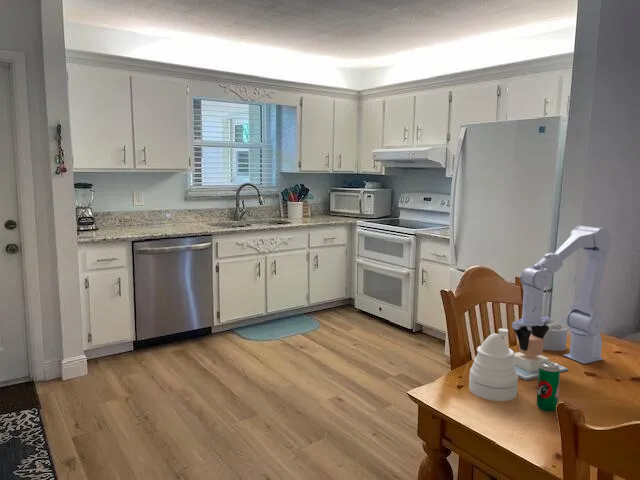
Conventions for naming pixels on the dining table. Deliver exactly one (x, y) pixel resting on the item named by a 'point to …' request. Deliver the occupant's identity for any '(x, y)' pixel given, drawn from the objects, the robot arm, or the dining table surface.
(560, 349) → the lumpy-topped squat cylinder
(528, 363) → the butter dish
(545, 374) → the soda can
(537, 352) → the terracotta block
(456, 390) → the dining table surface
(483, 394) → the honey pot
